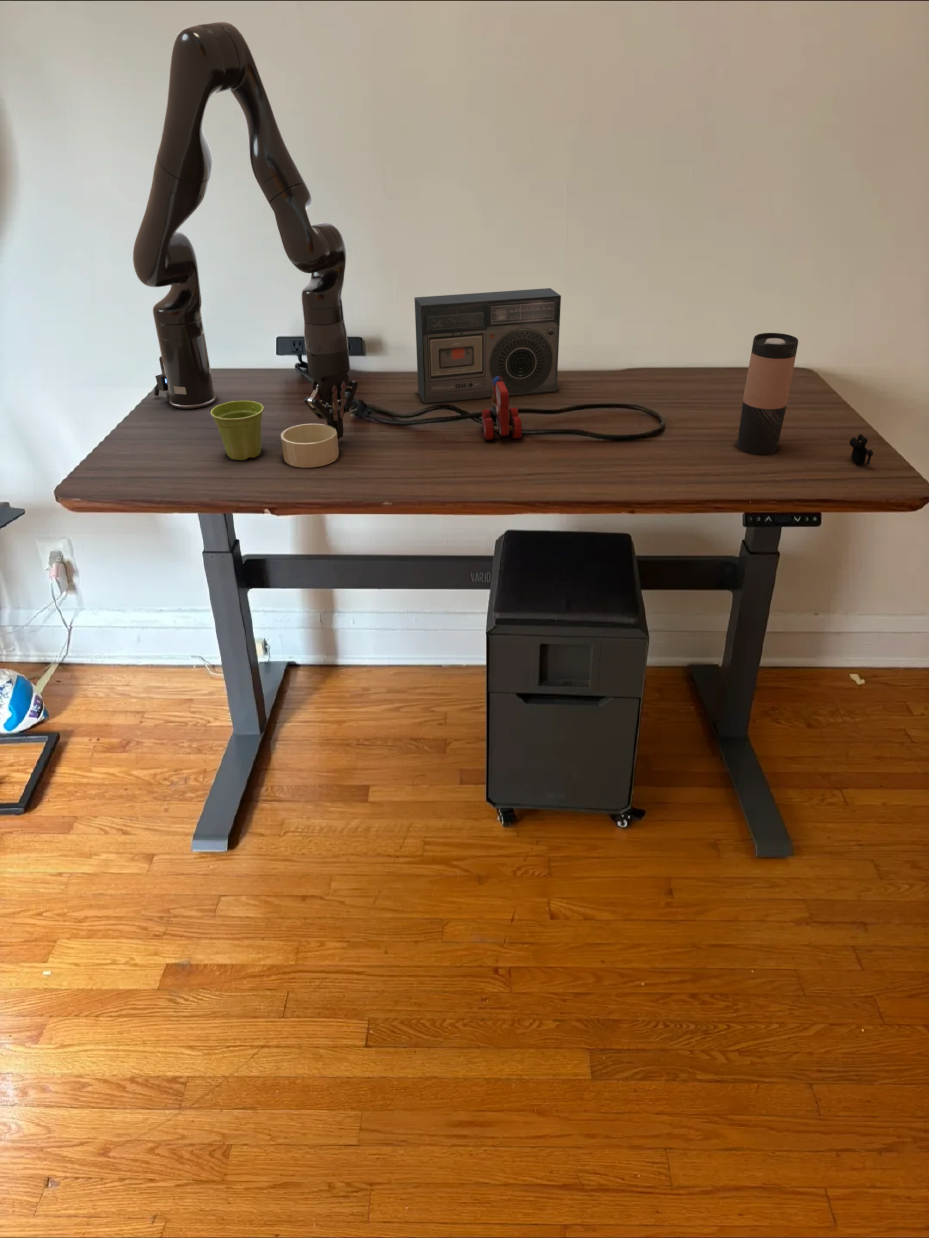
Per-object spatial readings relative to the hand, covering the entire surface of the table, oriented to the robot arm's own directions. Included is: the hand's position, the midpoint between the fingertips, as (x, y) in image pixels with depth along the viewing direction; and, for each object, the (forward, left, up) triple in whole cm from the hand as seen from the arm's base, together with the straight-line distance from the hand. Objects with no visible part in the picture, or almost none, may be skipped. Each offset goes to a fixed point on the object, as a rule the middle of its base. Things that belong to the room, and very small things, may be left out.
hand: (336, 437), depth 169 cm
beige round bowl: (0, -7, -1) cm, 7 cm away
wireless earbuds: (+85, +42, -1) cm, 95 cm away
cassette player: (+9, +40, -1) cm, 41 cm away
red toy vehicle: (+24, +21, -1) cm, 32 cm away
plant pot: (-11, -13, -1) cm, 17 cm away
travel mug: (+68, +40, -1) cm, 79 cm away
